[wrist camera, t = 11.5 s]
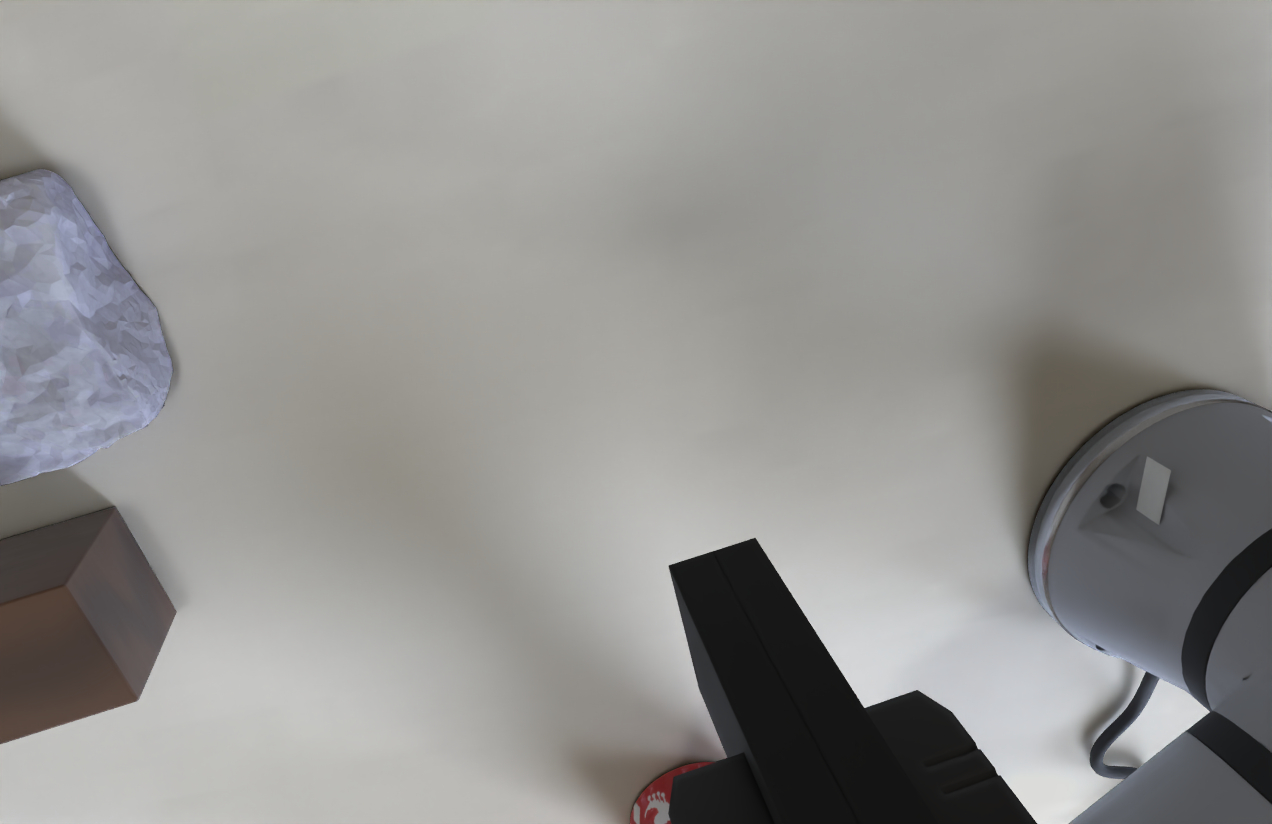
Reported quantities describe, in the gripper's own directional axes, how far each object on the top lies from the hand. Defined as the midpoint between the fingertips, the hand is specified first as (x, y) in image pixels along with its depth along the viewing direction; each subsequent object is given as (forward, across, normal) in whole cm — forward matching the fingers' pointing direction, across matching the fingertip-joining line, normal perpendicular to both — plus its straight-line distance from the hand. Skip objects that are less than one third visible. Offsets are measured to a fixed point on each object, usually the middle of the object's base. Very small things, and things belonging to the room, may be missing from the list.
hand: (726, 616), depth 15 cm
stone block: (+23, +20, -3) cm, 31 cm away
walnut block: (+22, +22, +7) cm, 32 cm away
